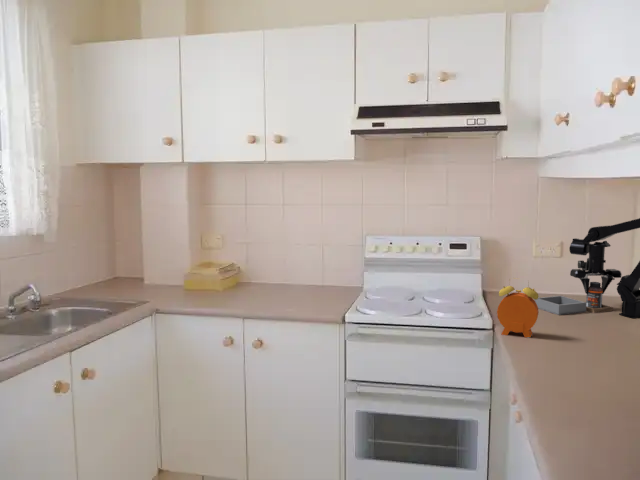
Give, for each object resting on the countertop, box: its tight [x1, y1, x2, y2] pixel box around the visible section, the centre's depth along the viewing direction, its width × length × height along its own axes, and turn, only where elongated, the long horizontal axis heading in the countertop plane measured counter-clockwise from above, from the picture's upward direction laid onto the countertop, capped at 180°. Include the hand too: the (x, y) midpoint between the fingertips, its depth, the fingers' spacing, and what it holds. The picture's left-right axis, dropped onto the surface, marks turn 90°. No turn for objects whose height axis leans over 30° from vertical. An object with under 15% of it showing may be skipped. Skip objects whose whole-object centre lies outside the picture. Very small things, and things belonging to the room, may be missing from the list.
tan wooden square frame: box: [586, 303, 614, 314], centre depth 229 cm, size 10×10×2 cm
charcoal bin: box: [534, 295, 587, 316], centre depth 228 cm, size 14×14×4 cm
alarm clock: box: [496, 277, 539, 338], centre depth 193 cm, size 13×6×20 cm, turn 64°
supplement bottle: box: [585, 281, 604, 309], centre depth 229 cm, size 6×6×11 cm
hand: (594, 293), depth 229 cm, fingers open, 6 cm apart
